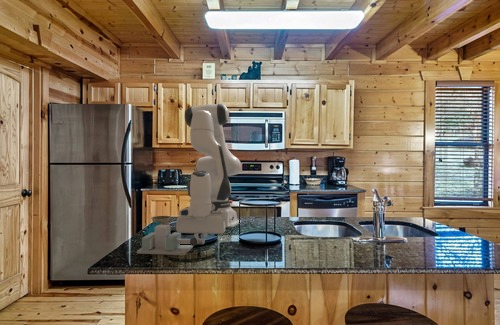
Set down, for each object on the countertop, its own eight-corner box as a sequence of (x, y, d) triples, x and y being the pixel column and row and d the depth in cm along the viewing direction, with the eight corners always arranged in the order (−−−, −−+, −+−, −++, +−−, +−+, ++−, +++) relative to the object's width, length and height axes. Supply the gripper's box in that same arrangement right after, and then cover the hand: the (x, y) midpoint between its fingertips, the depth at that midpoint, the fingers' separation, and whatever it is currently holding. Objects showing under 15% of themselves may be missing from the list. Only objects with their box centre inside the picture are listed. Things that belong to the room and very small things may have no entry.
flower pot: (150, 233, 164) (149, 216, 164) (168, 231, 168) (168, 214, 168) (152, 237, 156) (152, 219, 155) (172, 235, 160) (172, 218, 159)
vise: (193, 246, 141) (193, 232, 141) (184, 255, 129) (184, 240, 129) (149, 245, 143) (148, 231, 143) (136, 253, 131) (136, 238, 131)
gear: (139, 236, 152) (150, 218, 158) (143, 242, 156) (154, 225, 162) (159, 241, 148) (169, 223, 154) (163, 248, 152) (173, 230, 158)
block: (170, 245, 138) (170, 224, 138) (166, 249, 133) (166, 227, 133) (159, 245, 139) (159, 224, 139) (154, 248, 134) (154, 227, 134)
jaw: (200, 244, 139) (200, 232, 139) (194, 251, 129) (194, 239, 129) (172, 243, 141) (172, 232, 141) (164, 250, 131) (164, 238, 131)
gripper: (226, 209, 136) (226, 242, 136) (179, 208, 138) (179, 240, 138) (224, 212, 130) (224, 246, 130) (174, 211, 132) (174, 245, 132)
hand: (200, 243), depth 134 cm, fingers closed
